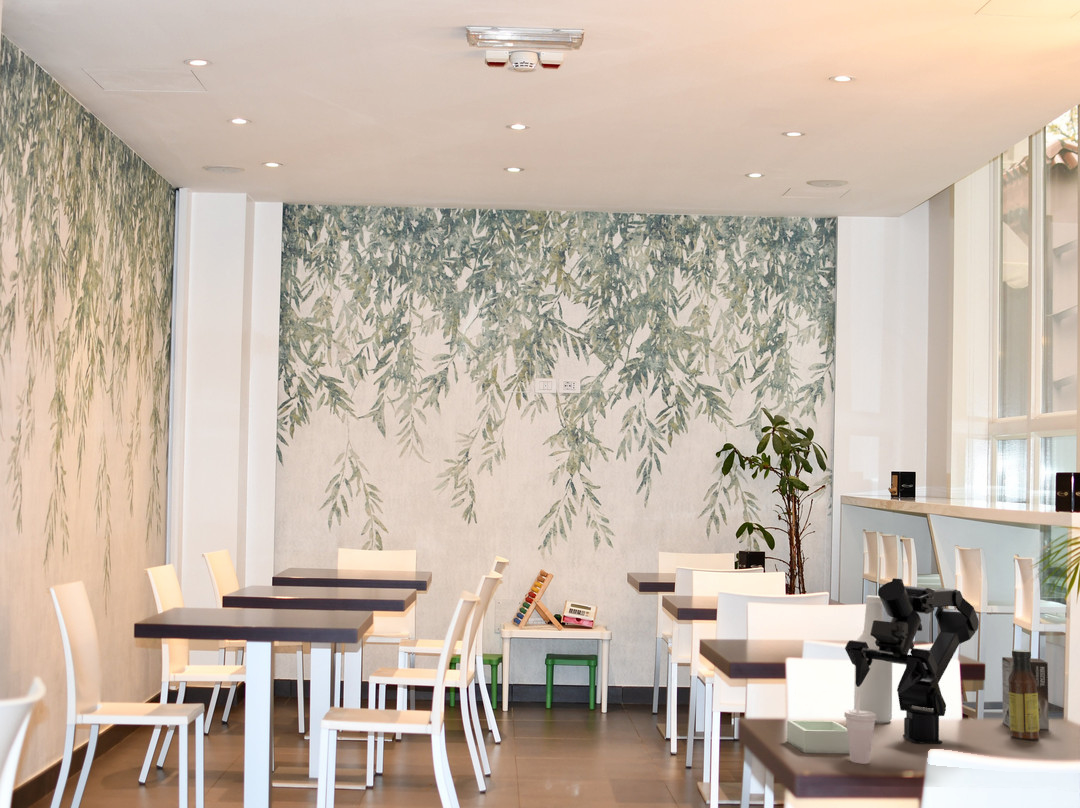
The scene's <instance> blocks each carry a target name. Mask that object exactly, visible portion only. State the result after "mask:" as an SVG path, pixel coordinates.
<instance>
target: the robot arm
mask: <svg viewBox="0 0 1080 808" xmlns="http://www.w3.org/2000/svg"><path fill="white" fill-rule="evenodd" d="M877 594H878V595H877V596H879V597H880V599H881V601H882V607H883V608H884V610H885V612H886V614H887V616H888V617H890V618H891V620H890V621H885V620H883V621H877V620H874V621H873V625H872V629H871V634H870V635H871V636H873V637H874V638H876V641H875V644H876V646H879V650H877V649H869V647H868V645H867V643H866V642H862V641H857V640H853V639H852V640H848V641H847V643H846V645H845V647H844V650H845V652H846V654H847V655H848V657H849V660H850V661H851V663H852V665H854V667H855V666H856V686H857V687H859V686H860V685H861V684H862V682H863V681H864V679H865V677H866V675H867V674H868V672H869V670H870V668H869V666H870V665H871V663H872V659H876V660H883V661H887V662H890V663H892V664H899V665H905V668H904V669H905V670H904V671H903V673H902V676H901V678H900V679H899V682H898V684H897V689H896V691H897V696H898V703H899V708H900V709H899V710H900V711H902V712H903V711H905V712H906V714H905V717H903V718H904V719H903V721H904V722H903V734H902V737H903V738H905V739H906V740H909V741H911V742H913V743H915V744H943V740H941V739H940V717H944V716H945V715H946V710H947V709H946V707H947V704H946V702H945V699H944V697H943V695H942V692H941V688H940V684H939V683H940V681H941V679H942V677H943V675H944V674H945V672H946V669H947V667H948V666H949V664H950V662H951V661H952V658H953V657H954V655H955V653H956V651H957V649H958V647H959V646H960V645H961V644H963V643H966V642H967V641H968V642H969V640H971V639H972V638H973V636H974V635H976V632H977V631H978V629H979V626H980V623H979V618H978V615H977V612H976V610H975V607H974V606H973V605H972V604H971V603H969V602H968V601H967V599H965V598H964V597H963V594H962V592H961V591H960V590H958V589H956V588H945V587H944V588H943V587H941V588H937V589H932V588H929V587H921V586H920V587H919V586H910V585H904V581H903V579H902V578H897V577H895V578H894V577H893V578H892V580H891V581H889V582H886V583H883V585H881V586H880V587H879V589H878V591H877ZM945 607H955V608H956V609H954V608H953V609H952V608H945ZM935 608H937V609H936V611H935ZM934 611H935V613H934V616H935V618H936V620H937V624H938V627H939V633H938V635H937V636H936V638H935V639H934V641H933V644H932V645H931V647H930V649H923V648H915V644H914V640H915V637H916V634H917V632H922V631H923V624H922V623H921V622H922V619H921V616H920V614H926V615H928V614H930V613H932V612H934ZM909 651H910V652H909ZM908 653H910V654H908Z"/></svg>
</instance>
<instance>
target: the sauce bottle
mask: <svg viewBox="0 0 1080 808" xmlns="http://www.w3.org/2000/svg"><path fill="white" fill-rule="evenodd" d="M1011 656H1012V658H1013V671H1012V673H1011V674H1010V676H1009V678H1008V681H1009V714H1010V727H1009V729H1010V734H1011V737H1013V738H1015V739H1020V740H1028V741H1029V740H1030V741H1032V740H1033V741H1035V740H1038V739H1039V738H1040V733H1039V732H1040V729H1039V711H1038V692H1037V680H1036V678H1035V676H1034V675H1033V673H1032V671H1031V666H1030V658H1031V657H1032V653H1031V650H1028V649H1012V650H1011Z"/></svg>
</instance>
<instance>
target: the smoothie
mask: <svg viewBox="0 0 1080 808" xmlns="http://www.w3.org/2000/svg"><path fill="white" fill-rule="evenodd" d="M859 693H860V691H857V707H856V710H854V709H847V710H845V711H844V715H843V716H844V718H845V722H846V728H847V733H848V742H849V752H850V753H849V758H850V762H852V763H856V764H861V765H862V764H863V765H864V764H865V765H866V764H869V763H870V761H871V755H872V754H871V752H872V746H873V739H874V731H875V724H876V723H875V720H877V718H876V716H877V715H876V714H875V713H873V712H870V711H864V710H859Z"/></svg>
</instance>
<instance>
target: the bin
mask: <svg viewBox="0 0 1080 808" xmlns="http://www.w3.org/2000/svg"><path fill="white" fill-rule="evenodd" d="M786 742H787V743H789V744H790V745H792V746H793V747H795V748H796V749H798V750H800V751H801V752H803V753H804V754H806V753H807V754H850V752H849V742H848V733H847V726H844V725H842V724H840V723H838V722H837V721H834V720H799V719H798V720H797V719H794V720H793V719H792V720H791V719H787V722H786Z"/></svg>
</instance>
